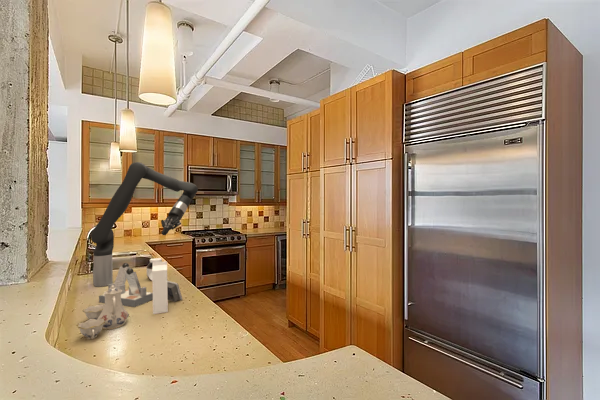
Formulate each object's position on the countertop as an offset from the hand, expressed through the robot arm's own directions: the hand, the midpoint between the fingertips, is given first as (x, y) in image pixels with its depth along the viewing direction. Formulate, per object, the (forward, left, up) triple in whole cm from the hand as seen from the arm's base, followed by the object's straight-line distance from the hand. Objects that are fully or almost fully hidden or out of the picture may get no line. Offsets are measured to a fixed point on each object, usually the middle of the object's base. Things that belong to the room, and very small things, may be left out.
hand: (163, 234), depth 174 cm
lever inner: (-8, -22, -26) cm, 35 cm away
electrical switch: (+19, -13, -30) cm, 38 cm away
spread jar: (-20, +13, -30) cm, 39 cm away
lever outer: (+5, -21, -26) cm, 34 cm away
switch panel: (-1, -22, -30) cm, 37 cm away
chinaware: (+18, -47, -30) cm, 58 cm away
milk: (+25, -26, -30) cm, 47 cm away
